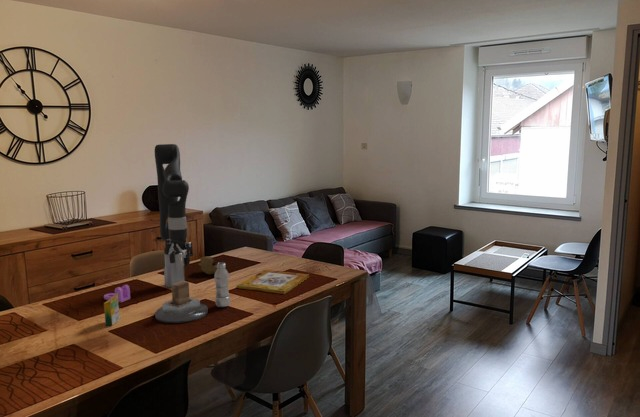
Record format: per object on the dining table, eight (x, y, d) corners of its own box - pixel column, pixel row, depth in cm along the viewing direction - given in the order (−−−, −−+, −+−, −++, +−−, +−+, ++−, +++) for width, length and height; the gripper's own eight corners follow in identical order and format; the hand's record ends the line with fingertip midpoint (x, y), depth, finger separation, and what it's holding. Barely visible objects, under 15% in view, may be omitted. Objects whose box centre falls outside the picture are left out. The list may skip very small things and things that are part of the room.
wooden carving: (223, 274, 273) (223, 257, 272) (217, 276, 269) (217, 259, 268) (202, 270, 282) (201, 253, 280) (196, 272, 278) (195, 255, 276)
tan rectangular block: (173, 311, 212) (171, 284, 211) (183, 307, 218) (181, 281, 216) (179, 313, 210) (178, 286, 209) (189, 308, 216) (188, 282, 214)
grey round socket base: (144, 317, 211) (143, 304, 210) (183, 302, 229) (182, 290, 228) (180, 327, 199) (179, 314, 198) (218, 310, 218) (217, 298, 217)
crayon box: (113, 319, 208) (111, 293, 206) (120, 319, 208) (118, 293, 206) (105, 326, 201) (103, 298, 199) (112, 326, 201) (110, 298, 199)
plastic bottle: (232, 304, 225) (231, 262, 222) (225, 309, 219) (223, 265, 216) (220, 303, 227) (218, 261, 224) (212, 308, 221) (210, 264, 218)
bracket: (130, 299, 234) (129, 285, 233) (121, 302, 229) (120, 288, 228) (110, 295, 240) (109, 281, 239) (101, 298, 235) (100, 284, 234)
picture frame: (309, 274, 267) (284, 290, 239) (309, 278, 267) (284, 295, 240) (265, 269, 277) (236, 284, 249) (265, 273, 277) (236, 288, 250)
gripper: (159, 227, 209) (161, 264, 212) (182, 230, 202) (184, 268, 204) (173, 224, 216) (174, 260, 218) (196, 227, 208) (198, 264, 211)
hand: (179, 264), depth 211 cm, fingers open, 8 cm apart
